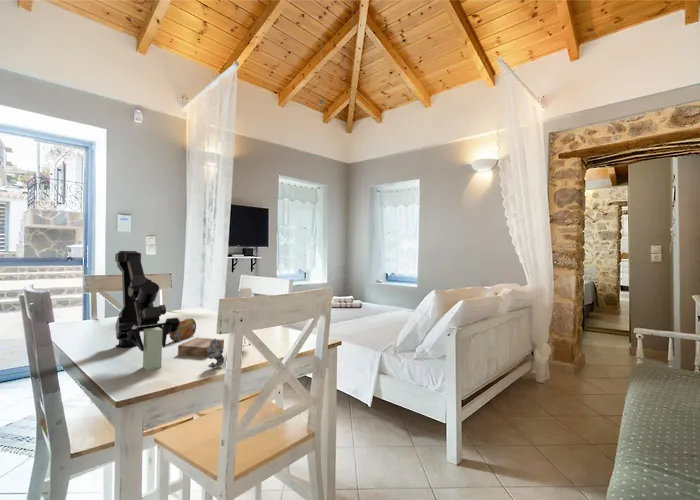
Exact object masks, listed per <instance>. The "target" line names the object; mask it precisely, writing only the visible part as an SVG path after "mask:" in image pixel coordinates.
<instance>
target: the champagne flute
mask: <svg viewBox="0 0 700 500" xmlns="http://www.w3.org/2000/svg"><path fill="white" fill-rule="evenodd" d="M239 297H252V298H253V293H252V287H240V288H239V292H238V298H239ZM247 340H248V339H247V338H246V339H245V338H244V344H246V343H249V342H248V341H249V340H248V341H247ZM249 344H250V343H249Z"/></svg>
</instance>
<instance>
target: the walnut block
mask: <svg viewBox="0 0 700 500" xmlns="http://www.w3.org/2000/svg"><path fill="white" fill-rule="evenodd" d="M214 339H215V338H207V337H195V338H192V339H190V340H188V341H185V342H183V343H181V344H178V345H177V346H178V347H177V355H178V356H187V357H198V358H199V357H200V358H208V353H209V352H208V351H207V348H208V347H209V346H210V345H211V344H210V342H211V340H214ZM216 340H220V343H221V344H222V346H221V348H222V349H223V350H224V348H225V346H224V344H225V339H222V338H216Z"/></svg>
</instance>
